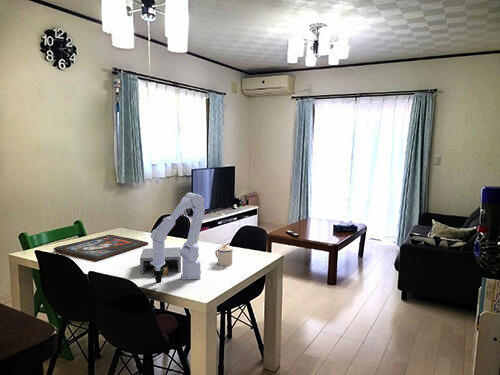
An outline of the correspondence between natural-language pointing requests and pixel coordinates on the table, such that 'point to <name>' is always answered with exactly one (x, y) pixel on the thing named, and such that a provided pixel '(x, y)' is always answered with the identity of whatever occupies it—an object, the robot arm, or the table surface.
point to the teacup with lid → (224, 255)
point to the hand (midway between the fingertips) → (159, 280)
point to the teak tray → (165, 269)
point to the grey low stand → (170, 256)
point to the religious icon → (101, 247)
